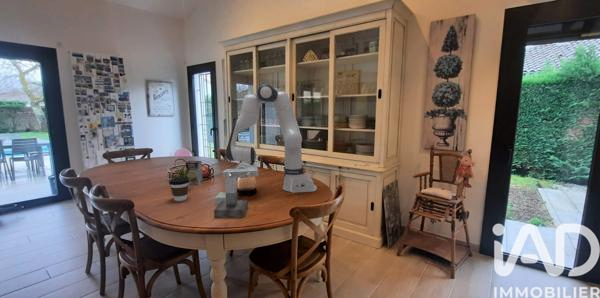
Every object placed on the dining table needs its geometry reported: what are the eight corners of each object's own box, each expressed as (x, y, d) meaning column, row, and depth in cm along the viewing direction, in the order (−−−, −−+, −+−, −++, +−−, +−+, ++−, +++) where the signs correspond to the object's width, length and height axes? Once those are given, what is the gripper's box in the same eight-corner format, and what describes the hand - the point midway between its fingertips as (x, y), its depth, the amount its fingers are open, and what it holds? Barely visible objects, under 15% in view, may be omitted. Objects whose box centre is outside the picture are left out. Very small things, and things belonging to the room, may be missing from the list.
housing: (237, 203, 145) (236, 177, 143) (235, 206, 140) (234, 179, 138) (228, 203, 145) (227, 177, 143) (226, 206, 140) (224, 179, 138)
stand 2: (248, 207, 150) (247, 200, 149) (243, 217, 136) (242, 209, 136) (222, 207, 150) (221, 200, 149) (214, 217, 136) (214, 210, 135)
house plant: (169, 189, 183) (167, 165, 181) (191, 186, 191) (189, 163, 188) (173, 195, 172) (171, 169, 169) (196, 191, 179) (195, 166, 177)
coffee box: (186, 185, 194) (184, 162, 192) (190, 182, 201) (189, 160, 198) (199, 185, 193) (197, 162, 191) (203, 182, 200) (201, 160, 197)
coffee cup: (184, 195, 171) (183, 176, 169) (194, 199, 164) (192, 179, 162) (167, 200, 163) (165, 180, 161) (176, 204, 156) (174, 183, 154)
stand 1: (237, 198, 165) (237, 192, 164) (233, 204, 155) (233, 197, 154) (220, 198, 165) (220, 192, 164) (215, 204, 155) (215, 197, 154)
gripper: (225, 166, 168) (219, 171, 154) (259, 164, 168) (256, 169, 154) (226, 176, 169) (219, 182, 155) (259, 174, 169) (256, 180, 155)
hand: (238, 176), depth 155 cm, fingers open, 8 cm apart
